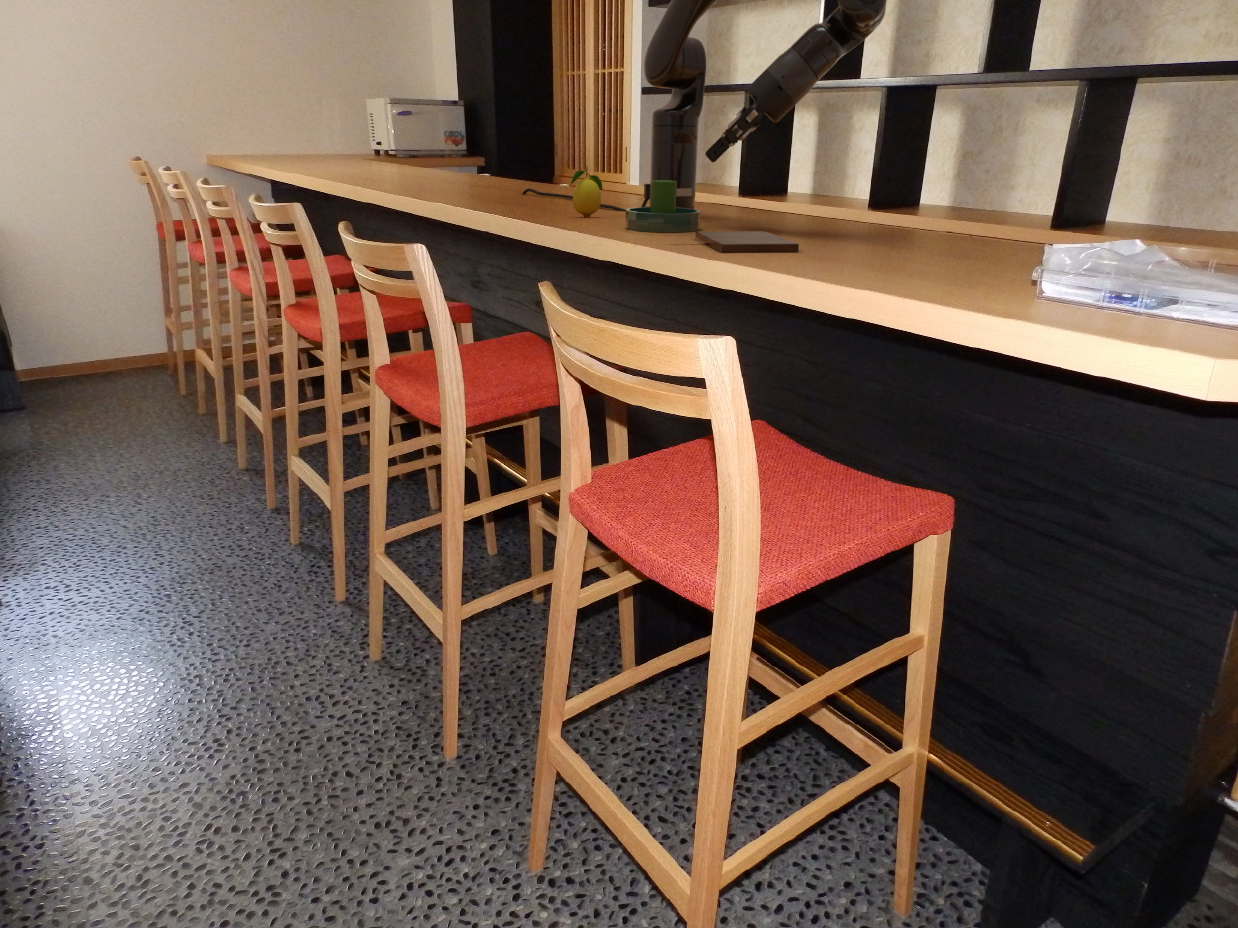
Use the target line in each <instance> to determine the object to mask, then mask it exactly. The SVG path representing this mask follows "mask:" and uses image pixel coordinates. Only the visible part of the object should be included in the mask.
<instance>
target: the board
mask: <svg viewBox="0 0 1238 928" xmlns="http://www.w3.org/2000/svg"><path fill="white" fill-rule="evenodd" d="M695 238H696V239H698V240H701V241H703V242H704V243H703V244H704V245H705V246H708V247H710V248H712V249H714V250H716V251H718V252H720V253H798V252H799V249H800V244H799V243H798V242H795V241H792V240H789V239H787V238H784V237H782V236H779V235H777V234H773V233H770V232H768V231H765V230H763V231H762V230H760V231H758V230H755V231H753V230H751V231H749V230H748V231H742V230H741V231H739V230H738V231H736V230H734V231H731V230H730V231H724V230H723V231H695Z"/></svg>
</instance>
